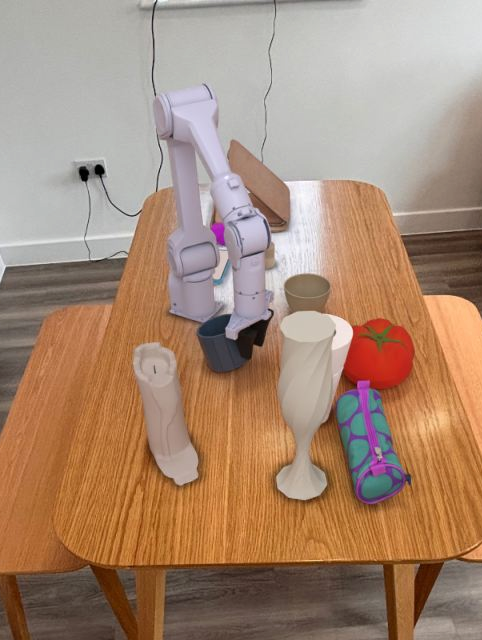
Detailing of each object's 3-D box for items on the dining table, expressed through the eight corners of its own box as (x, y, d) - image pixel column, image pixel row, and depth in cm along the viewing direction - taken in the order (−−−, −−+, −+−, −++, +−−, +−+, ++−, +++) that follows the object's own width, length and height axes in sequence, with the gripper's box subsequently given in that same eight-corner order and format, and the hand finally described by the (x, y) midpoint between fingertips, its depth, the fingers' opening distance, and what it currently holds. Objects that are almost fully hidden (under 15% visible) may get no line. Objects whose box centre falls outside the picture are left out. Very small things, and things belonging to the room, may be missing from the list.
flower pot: (326, 330, 136) (328, 299, 130) (279, 325, 137) (279, 295, 132) (332, 304, 142) (334, 274, 137) (287, 300, 144) (288, 270, 138)
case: (290, 233, 164) (291, 167, 152) (208, 234, 165) (203, 168, 152) (290, 198, 177) (291, 134, 165) (214, 198, 178) (210, 135, 166)
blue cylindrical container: (200, 371, 127) (188, 337, 123) (223, 347, 132) (212, 313, 128) (246, 373, 122) (235, 338, 117) (268, 348, 127) (258, 313, 122)
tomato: (348, 406, 120) (353, 362, 112) (328, 354, 130) (331, 311, 123) (422, 397, 121) (431, 353, 113) (396, 346, 131) (403, 303, 124)
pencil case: (406, 505, 103) (416, 463, 96) (352, 510, 103) (357, 468, 96) (378, 420, 117) (385, 377, 110) (330, 424, 117) (334, 382, 109)
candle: (169, 489, 107) (151, 396, 92) (145, 438, 115) (124, 344, 100) (209, 476, 109) (198, 382, 94) (182, 427, 117) (168, 333, 102)
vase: (274, 464, 110) (273, 310, 87) (322, 460, 111) (333, 305, 88) (279, 502, 105) (280, 347, 82) (330, 498, 105) (344, 343, 82)
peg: (255, 266, 153) (254, 246, 150) (263, 259, 156) (262, 239, 152) (269, 270, 152) (269, 250, 148) (277, 263, 154) (277, 243, 151)
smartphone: (233, 250, 157) (221, 280, 147) (233, 254, 158) (221, 285, 148) (203, 248, 158) (189, 278, 148) (203, 253, 159) (190, 283, 149)
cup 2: (278, 427, 116) (278, 344, 103) (296, 392, 123) (299, 309, 109) (335, 440, 114) (343, 356, 100) (350, 403, 120) (360, 319, 106)
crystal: (228, 235, 164) (227, 217, 160) (232, 245, 160) (231, 227, 157) (208, 238, 163) (206, 220, 160) (212, 248, 160) (210, 230, 156)
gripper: (248, 313, 107) (251, 378, 118) (288, 272, 116) (287, 337, 126) (213, 302, 110) (218, 367, 120) (254, 264, 118) (256, 327, 128)
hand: (251, 351), depth 123 cm, fingers closed on blue cylindrical container, 4 cm apart
